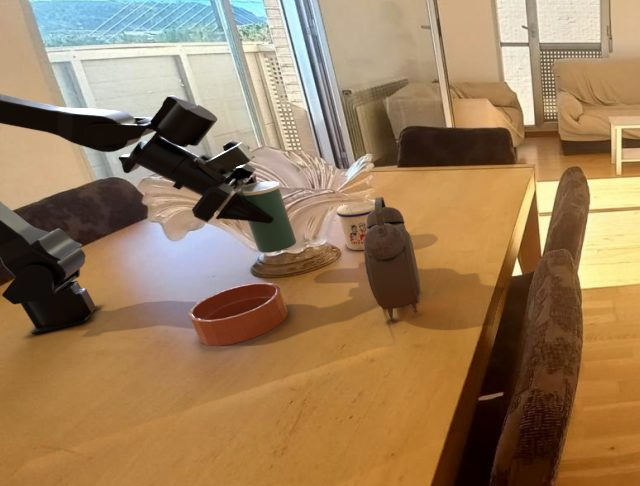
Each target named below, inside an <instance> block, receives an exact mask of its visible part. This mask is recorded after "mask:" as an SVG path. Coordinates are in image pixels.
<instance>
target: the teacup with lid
mask: <svg viewBox="0 0 640 486" xmlns="http://www.w3.org/2000/svg"><path fill="white" fill-rule="evenodd" d="M367 199H368V202H367V203H363V204H358V205H344V204H342V205H343V206H342V205H339V207H337V209H336V215H337V216H338V218H339V222H340V226H341V229H342V233H343V236H344V241H345V243H346V247H347V248H348V249H350V250H353V251H364V249H365V247H364V237H365V234H366V233H367V230H368V229H367V216H368V214H369V213H370V212H371V211H373V210H374V209H375V199H369V198H367Z"/></svg>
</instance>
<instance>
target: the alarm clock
mask: <svg viewBox="0 0 640 486" xmlns="http://www.w3.org/2000/svg"><path fill="white" fill-rule="evenodd" d="M374 200H375V209H374V210H373V211H371V212H370V213H369V214H368V216H367V229H368V230H367V233H366V234H365V237H364V247H365V249H364V250H363V252H364V253H363V255H364V264H365V270H366V275H367V281H368V284H369V288H370V291H371V293H372V295H373V298H374V299H375V301H376V303H377V305H378V306H379V307H381V309H382V310H383V311H384V310H385V311H387V315H388V316H389V322H391V323H393V322H394V321H395V319H394V309H402V308H406V307H409V306H411V307H412V309H413V313H415V314H416V313H418V312H419V310H418V309H417V304H418V303H420V294H421V282H420V275H419V270H418V264H417V259H416V253H415V249H414V245H413V242H412V237H411V234H410V232H409V231H408V230H407V228H406V225H405V219H404V216H403V214H402V213H401V211H400V210H399V209H397V208H395V207H392V206H386V203H385V198H384V197H383V196H378V197H375V199H374Z"/></svg>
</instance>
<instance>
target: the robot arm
mask: <svg viewBox="0 0 640 486" xmlns="http://www.w3.org/2000/svg"><path fill="white" fill-rule="evenodd" d="M217 121H218V117H217V116H216V115H215V114H214V113H213V112H211V111H210V110H209V109H207V108H205V107H204V106H202V105H200V104H195V103H193V102H191V101H188V100H185V99H181V98H180V97H178V96H176V95H174V94H173V95H168V96H166V97H165V99H164V100H163V102H162V104H161V106H160V108H159V109H158V111H157V112H156V113H155V114H154V116H153V117H141V116H140V117H138V116H137V117H135V116H133V115H132V114H131V113H128V112H124V111H121V110H111V109H102V108H88V107H87V108H84V107H83V108H81V107H65V106H60V105H59V106H58V105H54V104H50V103H44V102H40V101H36V100H35V101H34V100H30V99H26V98H22V97H21V98H20V97H15V96H11V95H7V94H1V93H0V125H1V124H2V125H7V126H10V127H11V126H12V127H16V128H23V129H28V130H33V131H38V132H44V133H48V134H51V135H54V136H58V137H60V138H62V139H64V140H65V141H68V142H70V143H72V144H75V145H78V146H81V147H85V148H88V149H91V150H94V151H96V152H97V151H98V152H102V153H114V152H117V151H120V150H122V149H124V148H126V147H127V148H128V147H129V146H132V145H134V144H136V143H137V144H136V146H135V147H134V148H133V149H132V151H131V152H130V153H129V154H128V153H126V154H125V153H124V154H123V155H120V156H118V160H119V161H120V163H121V168H122V172H123V173H124V174H130V173H132V172H134V171H135V170H138V169H139V168H140V167H141V168H144V169H146V170H148V171H150V172H152V173H154V174H156V175H159V176H160V177H162V178H164V179H166V180H169V181H170V182H172V183H174V184H173V185H172V187H173V188H174V189H176V190H178V191H180V190H181V189H183V188H184V189H186V190H189V192H190V191H191V192H192V193H195V194H196V195H199V196H201V197H200V198H199V200H198V201H197V202H196V204H195V205H194V206H193V207H192V209H191V213H192V214H193V216H194V218H196V219H198V220H200V221H201V222H202V221H203V222H204V223H209V222H210V221H211V220H212V219H213V218H214V216H215V214H216V212H218V214H217V215H216V216H215V220H232V221H244V222H248V221H253V222H262V223H271V222H272V221H273V220H274V218H273V217H271V216H270V215H269V214H267V213H266V212H264V211H263V210H261V209H260V208H258V207H257V206H255V205H254V204H252V203H251V202H249V201H248V200H246V199H245V196H244V194H243V191H242V189H241V188H240V189H239V190H238V191H237V192H235V190H236V189H237V188H239V187H242V186H245V185H249V184H253V183H258V181H257V175H256V173H255V171H256V170H257V169H256V168H255V167H253V166H251V165H250V164H248V163H249V162H251V161H252V159H255V158H256V156H255V155H254V153H252V151H251V150H250V149H251V148H250V146H249V145H248V144H245V143H243V142H242V141H241V142H238V141H236V140H234V139H231V140H230V141H229V142H226V143H225V144H223V145H222V149H223V152H221V153H219V154H218V155H216V156H214V157H212V156H210V155H208V154H203V153H202V154H201V155H199V156H198V155H197V154H196V153H193V152H191V151H189V150H188V149H186V148H187V147H188V146H192V147H197V146H199V144H200V143H201V142H202V141H203V139H204V138H205V137H206V135H207V134H208V132H209V131H210V130H211V129H212V128H213V126H215V124H216V123H217ZM153 133H154V134H153ZM150 134H153V135H152V136H151V137H150V139H149V140H148V141H144V140H143V141H140V140H141V139H142V137H144V136H147V135H150ZM82 246H83V244H82V243H79V242H77V241H75V240H74V239H72V238H71V237H70V236H69V235H68V234H67V233H66V232H65V231H64V230H62V229H61V228H56V229H54V230H52V231H50V232H49V231H46V230H43V229H40V228H37V227H34V226H33V225H31V224H30V223H29V222H27V221H26V220H24V218H23V217H21V216H20V215H19V214H17V213H16V212H15V211H13V210H12V209H11V208H10V207H9V206H7V205H6V204H4V203H3V202H2V201H0V261H1V263H2V265H3V267H4V268H5V269H7V271H8V272H9V273H11V275H12V276H14V277H15V278H13V280H12V281H11V282H10V284H9V285H8V286H7V287H6V288H5V290H4V291H3V293H2V294H1V296H2V298H4V299H5V300H7V301H8V302H10V303H11V304H12V305H21V307H22V308H23V311H25V314H26V315H27V317H28V318H29V320H30V321H31V323H32V324H33V327H34V328H33V329H32V330H31V331H30V333H31V334H32V335H37V334H38V335H39V334H42V333H46V332H51V331H55V330H59V329H63V328H68V327H71V326H75V325H81V324H83V323H86V322H87V321H88V320H89V318H90V317H91V316H92V314H93V313H94V312H95V310H96V309H97V307H98V306H97V304H95V303H94V301H93V299H92V297H91V295H90V293H89V292H88V289H87V288H85V287H83V288H82V287H81V285H80V283H79V281H78V280H76V279H78V278H79V277H80V276H81V268H83V266H84V265H85V263H86V257H87V256H86V254H85V251H84V250H83V249H82V248H81V247H82Z"/></svg>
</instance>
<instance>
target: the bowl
mask: <svg viewBox="0 0 640 486" xmlns="http://www.w3.org/2000/svg"><path fill="white" fill-rule="evenodd" d="M288 310H289V309H288V307H287V305H286V302H285V299H284V296H283V293H282V290H281V287H279V286H278V285H277V284H275V283H271V282H254V283H246V284H242V285H237V286H233V287H230V288H228V289H224V290H222V291H219V292H216V293H214V294H212V295H209V296H207V297H205V298H204V299H202V300H200V301H198V302H197V303H195V304H194V306H193V307H192V308H190V310H189V312H188V315H187V316H188V318H189V320H190V321H189V322H190V324H191V325H192V327H193V329H194V332H195V334H196V336H197V338H198V340H199V342H200V343H201V344H203V345H207V346H209V347H222V346H229V345H234V344H239V343H242V342H245V341H249V340H253V339H254V338H258V337H259V336H262V335H264V334H267V333H268V332H270V331H271V330H273V329H275V328H276V327H277V326H279V325H280V324H281V323H282V322H284V321H285V320H286V318H287V317H288Z"/></svg>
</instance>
